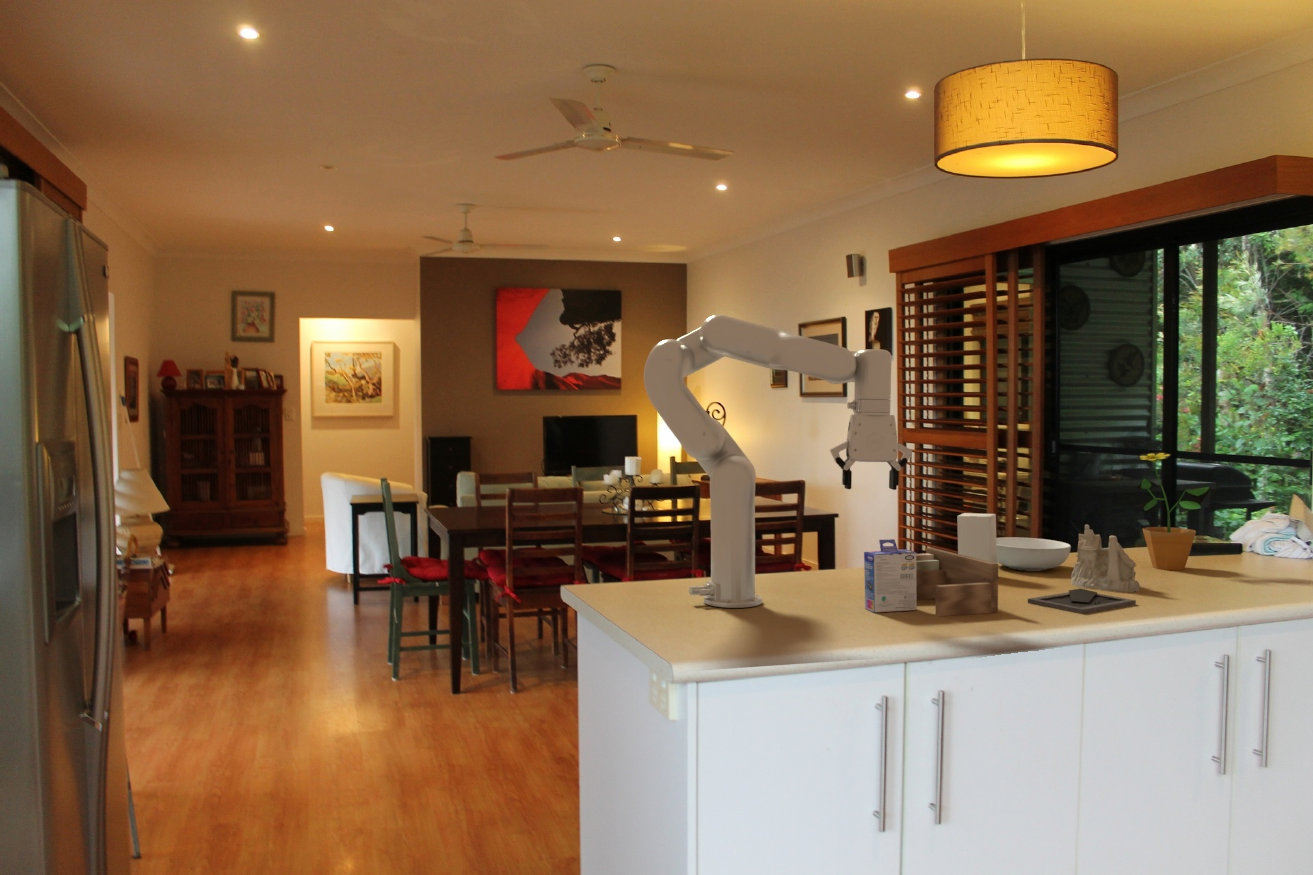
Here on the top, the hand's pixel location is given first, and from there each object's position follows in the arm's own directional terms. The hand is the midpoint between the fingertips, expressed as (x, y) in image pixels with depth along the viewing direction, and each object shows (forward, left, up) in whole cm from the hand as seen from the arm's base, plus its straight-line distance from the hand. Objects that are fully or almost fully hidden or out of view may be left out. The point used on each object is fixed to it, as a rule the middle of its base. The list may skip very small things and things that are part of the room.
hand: (870, 488), depth 209 cm
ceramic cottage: (+66, +5, -25) cm, 71 cm away
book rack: (+15, -1, -25) cm, 29 cm away
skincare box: (+43, +25, -25) cm, 56 cm away
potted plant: (+98, +21, -25) cm, 104 cm away
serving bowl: (+63, +32, -25) cm, 75 cm away
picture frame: (+44, -11, -26) cm, 53 cm away
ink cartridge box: (+2, -4, -25) cm, 26 cm away
